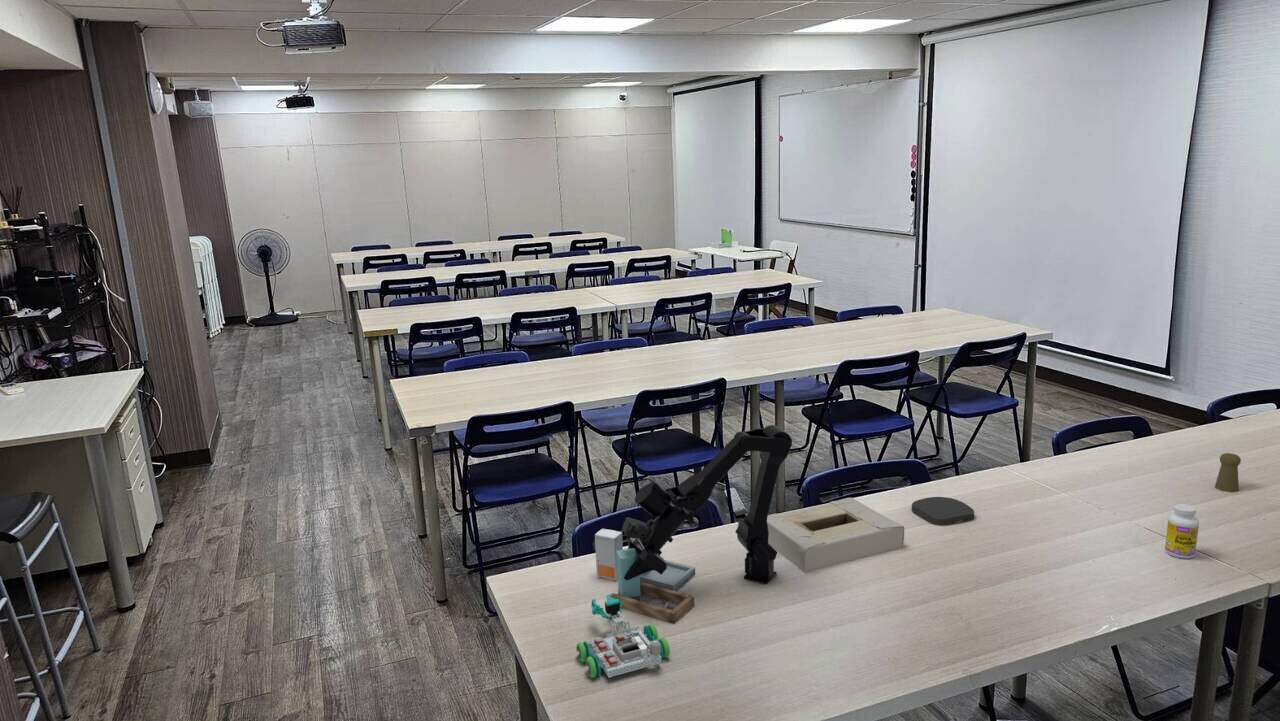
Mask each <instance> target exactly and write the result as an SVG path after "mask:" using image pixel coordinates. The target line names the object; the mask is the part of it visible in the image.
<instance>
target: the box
mask: <svg viewBox="0 0 1280 721" xmlns="http://www.w3.org/2000/svg"><path fill="white" fill-rule="evenodd" d="M767 524H768V531H769V537H768V543H769V544H770V545H771V546H772V547H773V548H774V549H775V550H776V551H777V553H779V554H780V555H781V556H782V557H784V558H785V559H786V560H788V561H789V562H791V563H792V564H793V565H794V566H796V567H797V568H798V569H800V570H801V571H802V572H804V573H807V572H811V571H814V570H818V569H822V568H827V567H830V566H833V565H838V564H842V563H846V562H850V561H853V560H858V559H859V560H860V559H861V558H866V557H869V556H874V555H878V554H882V553H886V552H890V551H895V550H898V549H901V548H902V549H903V547H904V542H905V525H902V524H901V523H898V522H896V521H894V520H893V519H890V518H889V517H886V516H885V515H883V514H881V513H880V512H878V511H876V510H874V509H873V508H871V507H869V506H867V505H865V504H863V503H862V502H859V501H858V500H856V499H854V498H853V497H846V498H842V499H839V500H838V499H837V500H832V501H829V502H828V503H824V504H819V505H815V506H809V507H805V508H801V509H795V510H790V511H786V512H781V513H771V514H768V517H767Z"/></svg>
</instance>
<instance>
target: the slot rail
mask: <svg viewBox="0 0 1280 721" xmlns="http://www.w3.org/2000/svg"><path fill="white" fill-rule="evenodd" d="M640 594H642V595H646V596H648V597H649V596H650V597H652V598H655V599H657V598H660V597H661V598H663V599H664V600H666V602H668V603H669V602H676V603H680V604H679V605H677V606H676V607H675V608H674V609H673V610H669V609H668V608H667V607H665V608H663V607H659V606H656V605H652V604H649V603H648V602H645V601H642V600H641V601H638V600H635V599H632V598H628V597H625V596H621V595H618V593H614V592H612V593H611V594H609V595H610V596H613V597H615V598H616V599H618V600H620V601H621V602H622V607H621V608H620V609H624V610H627V611H631V612H634V613H637V614H640V615H643V616H647V617H651V618H653V619H658V620H661V621H664V622H666V623H667V622H668V623H670V624H673V625H674V624H676V623H677V622H678V621H679V620H680V619H681V618H682V617H684V615H686V614H687V613H688V612H689V611H690V610H691V609H692V608H693V607H694V606H695V596H694V595H691V594H687V593H684V592H680V591H678V590H677V591H674V590H670V589H666V588H663V587H659V586H655V585H652V584H648V583H645V582H641V581H640Z"/></svg>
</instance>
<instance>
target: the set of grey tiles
mask: <svg viewBox="0 0 1280 721" xmlns="http://www.w3.org/2000/svg"><path fill="white" fill-rule="evenodd" d="M666 602H667V601H666V600H664V599H663V598H661V597H660V598H655V599H652V600H650V601H647V603H649V604H652V605H656V606H659V607H663V608H666V609H669V610H673V609H674V608H675V607H676V606H677V605H679V604H680V603H676V602H669V601H668V604H667V603H666ZM666 604H667V607H665V605H666Z"/></svg>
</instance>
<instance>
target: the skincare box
mask: <svg viewBox="0 0 1280 721" xmlns="http://www.w3.org/2000/svg"><path fill="white" fill-rule="evenodd" d="M594 545H595V546H594V547H595V566H596V577H598V578H603V579H608V580H611V581H616V582H618V575H617V555H616V551H619V550H624V547H623V532H622V531H618V530H613V529H606V528H601V529H600V530H599V531H596V533H595V534H594Z"/></svg>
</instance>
